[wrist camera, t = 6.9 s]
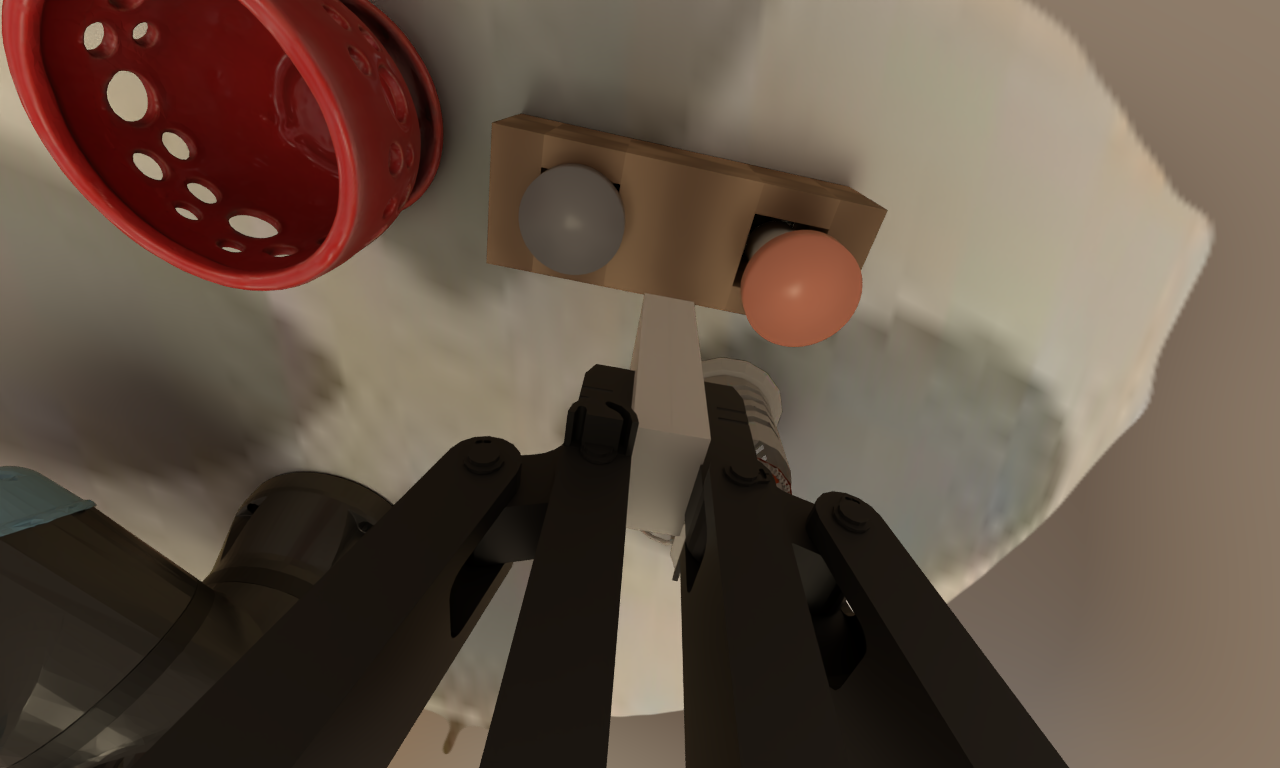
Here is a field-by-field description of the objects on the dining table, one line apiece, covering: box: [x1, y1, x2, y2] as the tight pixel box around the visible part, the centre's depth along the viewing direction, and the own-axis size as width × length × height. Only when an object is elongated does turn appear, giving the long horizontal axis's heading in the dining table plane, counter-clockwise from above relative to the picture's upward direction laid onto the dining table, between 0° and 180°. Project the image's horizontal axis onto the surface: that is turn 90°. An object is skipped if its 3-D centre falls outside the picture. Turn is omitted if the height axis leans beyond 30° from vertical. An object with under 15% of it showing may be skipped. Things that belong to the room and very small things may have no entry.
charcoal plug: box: [519, 163, 625, 275], centre depth 28 cm, size 5×5×7 cm
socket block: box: [487, 114, 888, 315], centre depth 29 cm, size 20×7×6 cm, turn 79°
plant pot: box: [2, 0, 443, 291], centre depth 24 cm, size 13×13×12 cm
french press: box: [640, 357, 792, 577], centre depth 29 cm, size 10×12×25 cm
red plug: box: [740, 221, 862, 347], centre depth 26 cm, size 5×5×7 cm
